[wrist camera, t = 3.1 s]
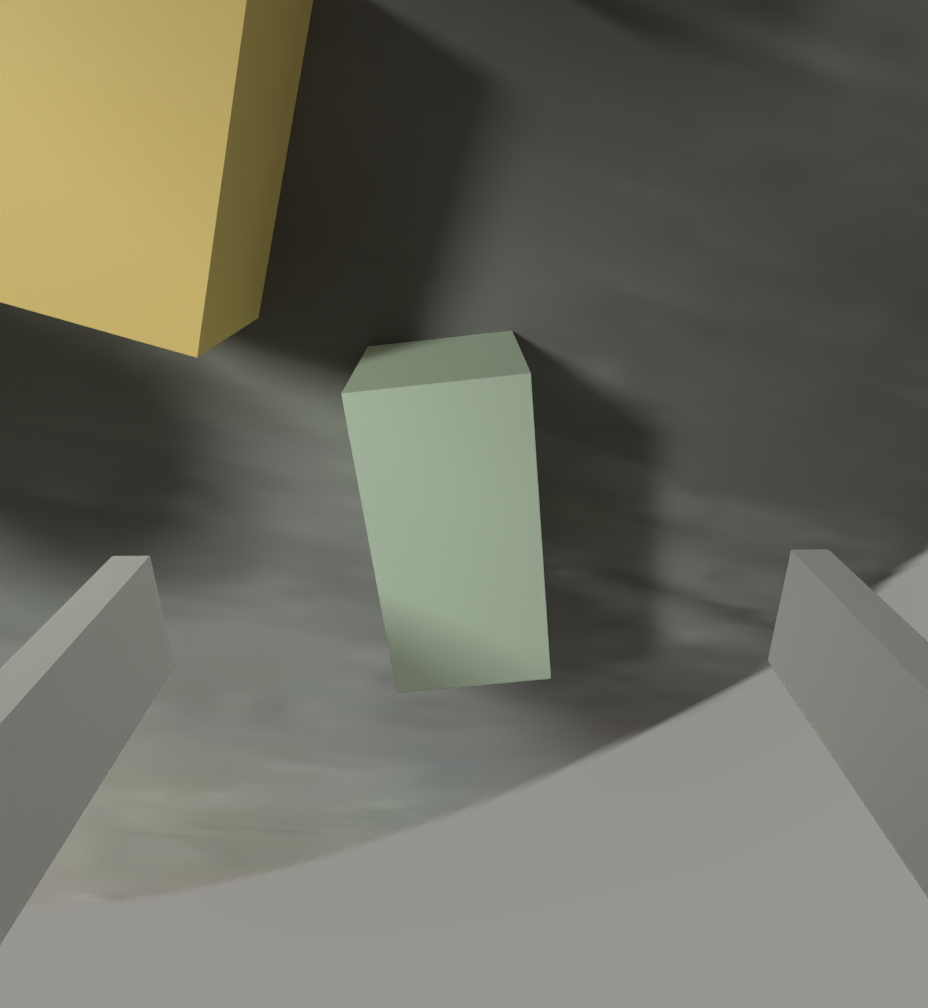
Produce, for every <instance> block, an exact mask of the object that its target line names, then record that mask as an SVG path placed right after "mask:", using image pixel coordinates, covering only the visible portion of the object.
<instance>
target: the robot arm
mask: <svg viewBox="0 0 928 1008" xmlns="http://www.w3.org/2000/svg"><path fill="white" fill-rule="evenodd" d="M768 662H769V663H770V664H771V666H772V667H773V669H774V670H775V672H776V673H777V675H778V676H779V678H780V679H781V681H782V682H783V684H784V685H785V687H786V688H787V690H788V691H789V692H790V694H791V696H792V697H793V699H794V700H795V702H796V703H797V705H798V706H799V707H800V709H801V710H802V712H803V713H804V715H805V716H806V718H807V719H808V721H809V722H810V724H811V725H812V727H813V728H814V730H815V731H816V732H817V734H818V736H819V737H820V739H821V740H822V742H823V743H824V745H825V746H826V747H827V749H828V750H829V752H830V753H831V755H832V756H833V758H834V759H835V761H836V762H837V764H838V765H839V767H840V768H841V770H842V771H843V773H844V774H845V776H846V777H847V779H848V780H849V781H850V783H851V784H852V786H853V787H854V789H855V790H856V792H857V793H858V795H859V796H860V798H861V799H862V801H863V802H864V804H865V805H866V807H867V808H868V810H869V811H870V813H871V814H872V816H873V817H874V819H875V820H876V822H877V823H878V825H879V826H880V827H881V829H882V830H883V832H884V833H885V835H886V836H887V838H888V839H889V841H890V842H891V844H892V845H893V847H894V848H895V850H896V851H897V853H898V854H899V856H900V857H901V859H902V860H903V862H904V863H905V865H906V866H907V868H908V869H909V871H910V872H911V874H912V875H913V877H914V878H915V879H916V881H917V882H918V884H919V885H920V887H921V888H922V890H923V891H924V893H925V894H926V896H927V897H928V642H927V641H926V640H925V639H924V638H923V637H922V636H920V635H919V634H918V633H917V632H916V631H915V630H914V629H913V628H912V627H911V626H910V625H909V624H908V623H907V622H906V621H904V620H903V619H902V618H901V617H900V616H899V615H898V614H897V613H896V612H895V611H894V610H893V609H892V608H891V607H889V606H888V605H887V604H886V603H885V602H884V601H883V600H882V599H881V598H880V597H879V596H878V595H877V594H876V593H875V592H873V591H872V590H871V589H870V588H869V587H868V586H867V585H866V584H865V583H864V582H863V581H862V580H861V579H860V578H858V577H857V576H856V575H855V574H854V573H853V572H852V571H851V570H850V569H849V568H848V567H847V566H846V565H845V564H844V563H842V562H841V561H840V560H839V559H838V558H837V557H836V556H835V555H834V554H833V553H832V552H831V551H830V550H829V549H819V550H791V552H790V557H789V562H788V567H787V571H786V576H785V581H784V586H783V590H782V595H781V600H780V605H779V609H778V614H777V619H776V624H775V628H774V633H773V638H772V643H771V647H770V652H769V657H768ZM173 667H174V662H173V658H172V653H171V649H170V644H169V640H168V635H167V631H166V626H165V622H164V617H163V613H162V608H161V604H160V599H159V595H158V590H157V586H156V581H155V577H154V572H153V568H152V563H151V559H150V556H112V557H111V558H110V559H109V560H108V561H107V562H106V563H105V564H104V565H103V566H102V567H101V568H100V569H99V570H98V571H97V572H96V573H95V574H94V575H93V576H92V577H91V578H90V579H89V580H88V581H87V582H86V583H85V584H84V585H83V586H82V587H81V588H80V589H79V590H78V591H77V592H76V593H75V594H74V595H73V596H72V597H71V598H70V599H69V600H68V601H67V602H66V603H65V604H64V605H63V606H62V607H61V608H60V609H59V610H58V611H57V612H56V613H55V614H54V615H53V616H52V617H51V618H50V619H49V620H48V621H47V622H46V623H45V624H44V625H43V626H42V627H41V628H40V629H39V630H38V631H37V632H36V633H35V634H34V635H33V636H32V637H31V638H30V639H29V640H28V641H27V642H26V643H25V644H24V645H23V646H22V647H21V648H20V649H19V650H18V651H17V652H16V653H15V654H14V655H13V656H12V657H11V658H10V659H9V660H8V661H7V662H6V663H5V664H4V665H3V666H2V667H1V668H0V944H1V943H2V941H3V939H4V938H5V936H6V935H7V933H8V932H9V930H10V928H11V927H12V925H13V924H14V922H15V920H16V918H17V917H18V916H19V914H20V912H21V911H22V909H23V908H24V906H25V904H26V903H27V901H28V900H29V898H30V896H31V895H32V893H33V892H34V890H35V888H36V887H37V885H38V884H39V882H40V880H41V879H42V877H43V875H44V874H45V872H46V871H47V869H48V867H49V866H50V864H51V863H52V861H53V859H54V858H55V856H56V855H57V853H58V851H59V850H60V848H61V847H62V845H63V843H64V842H65V840H66V839H67V837H68V835H69V834H70V832H71V831H72V829H73V827H74V826H75V824H76V823H77V821H78V819H79V818H80V816H81V815H82V813H83V811H84V810H85V808H86V807H87V805H88V803H89V802H90V800H91V799H92V797H93V795H94V794H95V792H96V791H97V789H98V787H99V786H100V784H101V783H102V781H103V779H104V778H105V776H106V775H107V773H108V771H109V770H110V768H111V767H112V765H113V763H114V762H115V760H116V759H117V757H118V755H119V754H120V752H121V750H122V749H123V747H124V746H125V744H126V742H127V741H128V739H129V738H130V736H131V734H132V733H133V731H134V730H135V728H136V726H137V725H138V723H139V722H140V720H141V718H142V717H143V715H144V714H145V712H146V710H147V709H148V707H149V706H150V704H151V702H152V701H153V699H154V698H155V696H156V694H157V693H158V691H159V690H160V688H161V686H162V685H163V683H164V682H165V680H166V678H167V677H168V675H169V674H170V672H171V670H172V669H173Z"/></svg>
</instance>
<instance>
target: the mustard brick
mask: <svg viewBox="0 0 928 1008" xmlns="http://www.w3.org/2000/svg"><path fill="white" fill-rule="evenodd" d="M312 5H313V0H0V302H1V303H5V304H9V305H12V306H16V307H19V308H23V309H26V310H30V311H33V312H37V313H40V314H44V315H47V316H51V317H55V318H58V319H62V320H65V321H69V322H72V323H76V324H79V325H83V326H86V327H90V328H93V329H97V330H101V331H104V332H108V333H111V334H115V335H118V336H122V337H125V338H129V339H132V340H136V341H140V342H143V343H147V344H150V345H154V346H157V347H161V348H164V349H168V350H171V351H175V352H178V353H182V354H186V355H189V356H193V357H196V358H197V357H199V356H201V355H202V354H204V353H205V352H207V351H208V350H210V349H211V348H213V347H214V346H216V345H217V344H219V343H221V342H222V341H224V340H225V339H227V338H228V337H230V336H231V335H233V334H234V333H236V332H238V331H239V330H241V329H242V328H244V327H245V326H247V325H248V324H250V323H251V322H253V321H255V320H256V319H258V318H259V312H260V306H261V301H262V295H263V289H264V283H265V277H266V272H267V266H268V260H269V254H270V248H271V243H272V237H273V231H274V225H275V219H276V214H277V208H278V202H279V196H280V191H281V185H282V179H283V173H284V167H285V162H286V156H287V150H288V144H289V138H290V133H291V127H292V121H293V115H294V109H295V104H296V98H297V92H298V86H299V81H300V75H301V69H302V63H303V57H304V52H305V46H306V40H307V34H308V28H309V23H310V17H311V11H312Z"/></svg>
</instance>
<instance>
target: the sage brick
mask: <svg viewBox="0 0 928 1008" xmlns="http://www.w3.org/2000/svg"><path fill="white" fill-rule="evenodd" d="M341 395H342V400H343V406H344V411H345V417H346V422H347V427H348V433H349V438H350V443H351V449H352V454H353V460H354V465H355V470H356V476H357V481H358V486H359V492H360V497H361V502H362V508H363V513H364V519H365V524H366V529H367V535H368V540H369V545H370V551H371V556H372V561H373V567H374V572H375V578H376V583H377V588H378V594H379V599H380V604H381V610H382V615H383V620H384V626H385V631H386V637H387V642H388V647H389V653H390V658H391V663H392V669H393V674H394V680H395V685H396V690H397V693H403V692H414V691H425V690H435V689H446V688H456V687H467V686H478V685H488V684H499V683H509V682H520V681H530V680H541V679H551V673H550V657H549V642H548V627H547V612H546V597H545V581H544V566H543V551H542V536H541V521H540V505H539V490H538V475H537V460H536V445H535V429H534V414H533V399H532V384H531V372H530V370H529V368H528V366H527V363H526V361H525V359H524V356H523V354H522V352H521V350H520V347H519V345H518V343H517V340H516V338H515V336H514V334H513V331H504V332H495V333H485V334H476V335H467V336H458V337H449V338H440V339H431V340H422V341H413V342H404V343H395V344H386V345H377V346H368V347H367V349H366V351H365V352H364V354H363V356H362V358H361V359H360V361H359V363H358V365H357V367H356V368H355V370H354V372H353V374H352V375H351V377H350V379H349V381H348V382H347V384H346V386H345V388H344V390H343V391H342V393H341Z"/></svg>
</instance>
